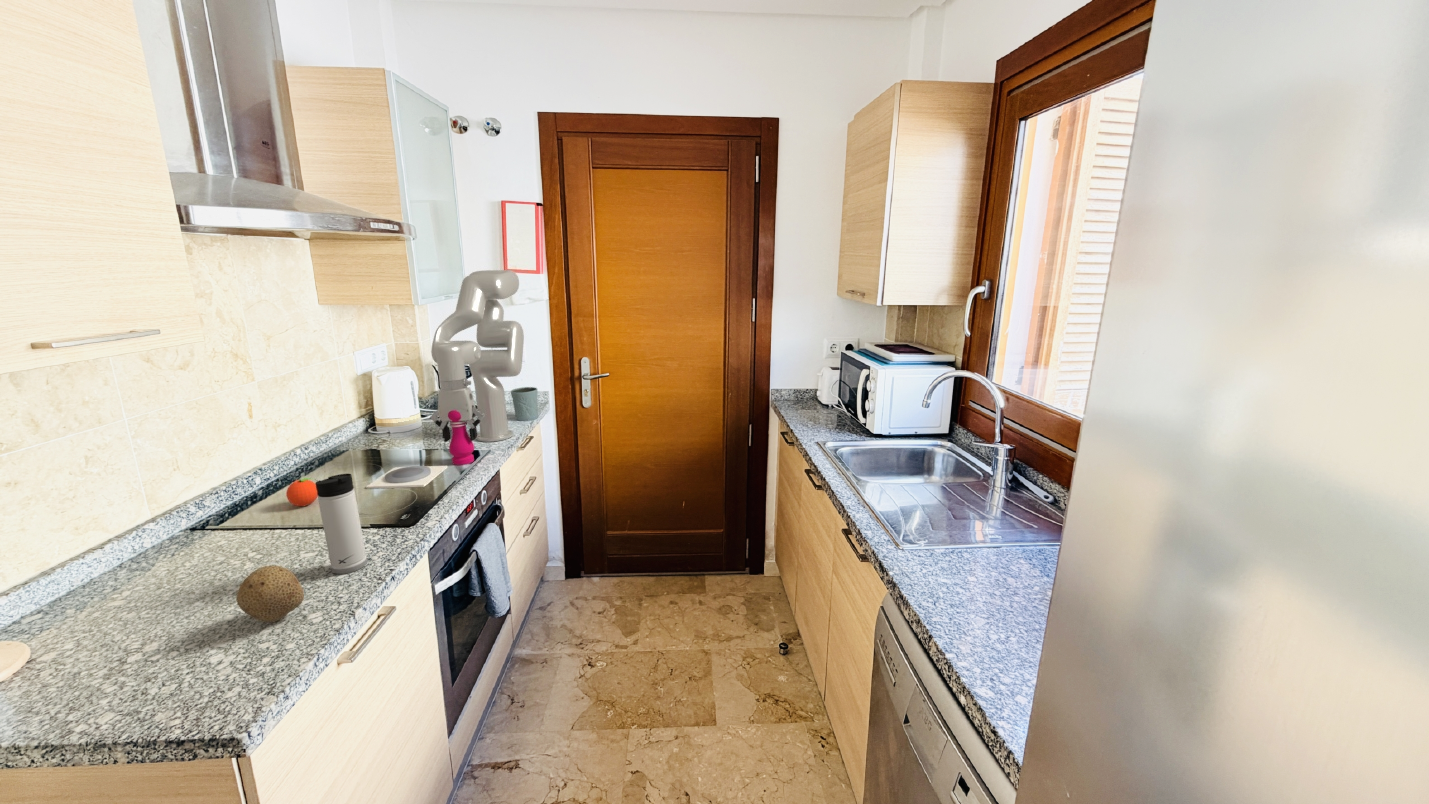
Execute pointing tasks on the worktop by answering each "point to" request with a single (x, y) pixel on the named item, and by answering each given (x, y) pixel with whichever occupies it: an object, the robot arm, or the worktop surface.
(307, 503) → the clementine
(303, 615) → the worktop surface
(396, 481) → the cream square board
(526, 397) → the green plant pot
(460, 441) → the pepper mill
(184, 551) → the worktop surface
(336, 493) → the travel mug
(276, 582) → the brown potato
